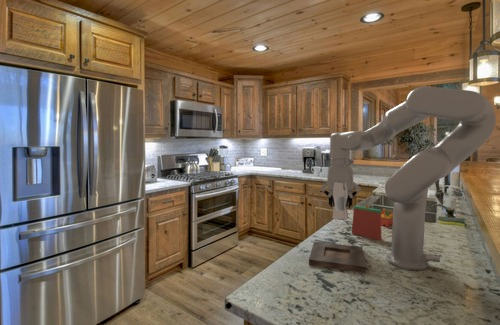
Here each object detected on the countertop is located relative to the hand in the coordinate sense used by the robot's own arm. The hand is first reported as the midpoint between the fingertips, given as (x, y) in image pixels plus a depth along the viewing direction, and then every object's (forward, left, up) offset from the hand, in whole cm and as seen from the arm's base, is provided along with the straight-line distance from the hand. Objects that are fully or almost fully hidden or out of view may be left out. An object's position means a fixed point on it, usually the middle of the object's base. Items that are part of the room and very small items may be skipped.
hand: (340, 206), depth 113 cm
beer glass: (0, 0, -5) cm, 5 cm away
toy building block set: (-19, -28, -16) cm, 37 cm away
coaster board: (+1, +16, -16) cm, 22 cm away
